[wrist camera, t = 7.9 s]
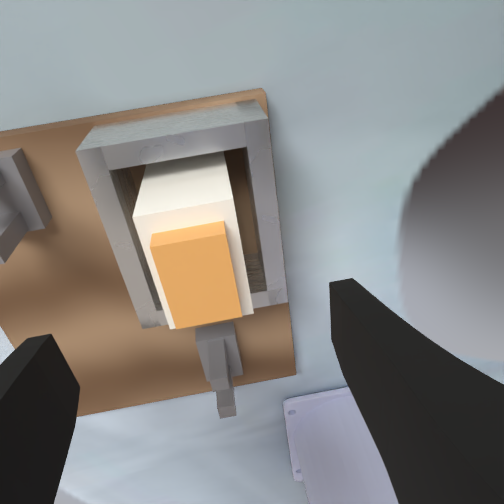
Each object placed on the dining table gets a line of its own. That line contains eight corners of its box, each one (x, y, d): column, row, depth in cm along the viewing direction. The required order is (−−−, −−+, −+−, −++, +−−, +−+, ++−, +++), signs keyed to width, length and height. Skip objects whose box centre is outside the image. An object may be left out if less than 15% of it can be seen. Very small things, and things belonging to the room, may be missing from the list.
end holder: (275, 263, 20) (288, 302, 17) (148, 286, 20) (142, 329, 17) (255, 98, 16) (268, 118, 13) (94, 125, 15) (75, 151, 13)
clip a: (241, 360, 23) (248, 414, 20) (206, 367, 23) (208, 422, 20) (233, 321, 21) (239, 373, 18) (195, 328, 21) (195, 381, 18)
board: (292, 362, 25) (296, 374, 24) (64, 405, 25) (59, 420, 24) (261, 88, 16) (265, 92, 16) (-92, 146, 16) (-107, 155, 15)
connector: (239, 240, 19) (256, 329, 14) (175, 251, 19) (168, 345, 14) (222, 145, 16) (235, 210, 11) (148, 158, 16) (128, 230, 11)
